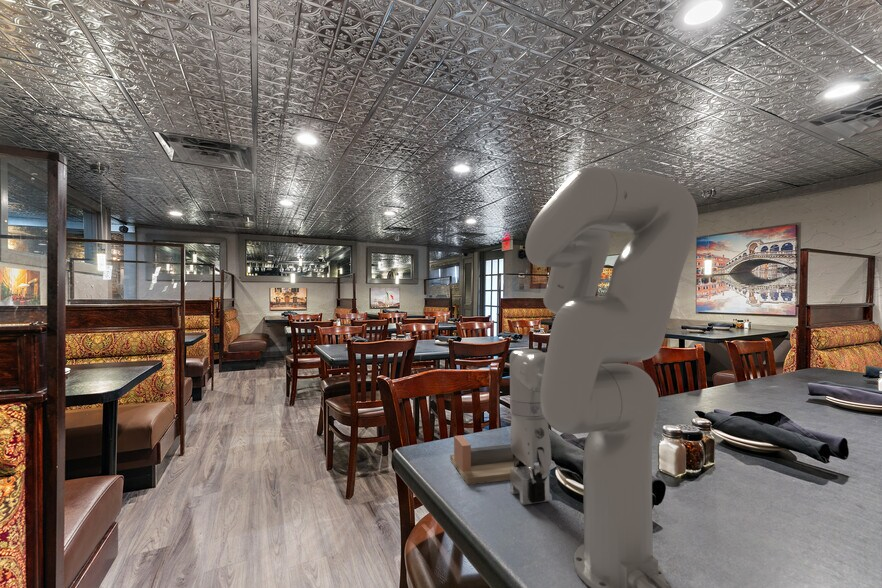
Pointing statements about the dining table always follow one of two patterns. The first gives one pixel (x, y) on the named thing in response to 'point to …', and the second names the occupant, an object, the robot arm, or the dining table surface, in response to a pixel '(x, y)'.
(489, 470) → the board
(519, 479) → the saddle block
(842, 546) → the dining table surface
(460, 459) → the stop
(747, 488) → the dining table surface
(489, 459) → the rail
